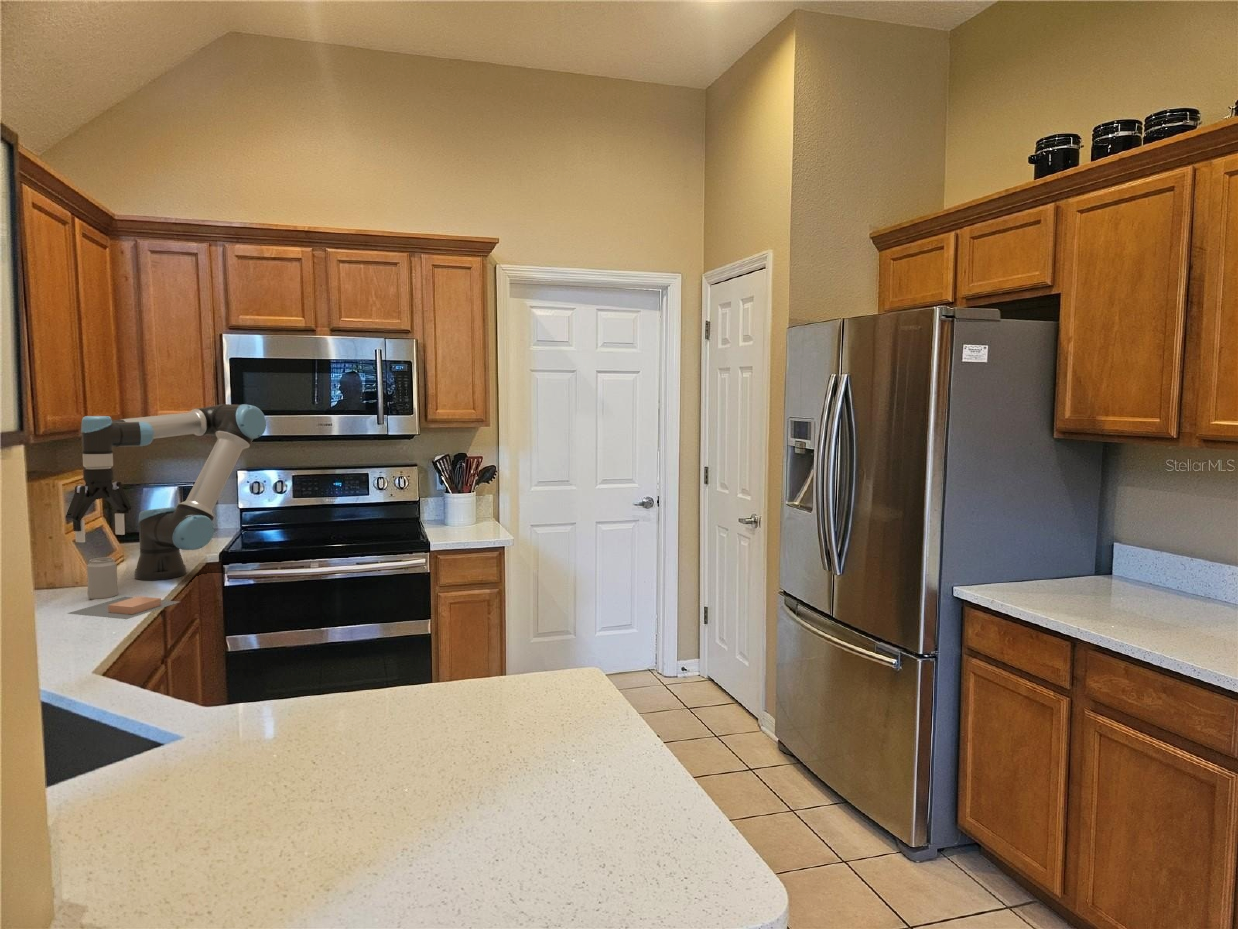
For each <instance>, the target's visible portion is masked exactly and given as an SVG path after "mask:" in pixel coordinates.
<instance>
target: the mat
mask: <svg viewBox="0 0 1238 929" xmlns="http://www.w3.org/2000/svg"><path fill="white" fill-rule="evenodd" d="M131 598H134V597H133V596H132V597H131V596H130V597H129V596H124V597H119V598H117V599H112V600H108V601H106V602H102V603H99V604H98V603H97V604H96V605H92V606H89V607H83V608H81V609H76V610H73V611H70V612H67V613H66V614H68V615H78V616H89V617H90V616H91V617H98V618H99V617H100V618H108V619H109V618H110V619H121V620H128V619H131V618H132V619H133V618H135V617H138V616H141V615H144V614H147V613H151V612H154V611H157V610H159V609H160V610H161V609H164V608H167V607H168V606H170V607H171V606H172V605H175V604H178V603H180V601H178V600H177V601H175V600H163V599H161V605H160V606H158V607H155V608H152V609H148V610H145V611H142V612H139V613H136V614H132V615H131V614H121V613H110V612H108V605H110V604H113V603H117V602H120V601H124V600H127V599H131Z"/></svg>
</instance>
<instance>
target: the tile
mask: <svg viewBox="0 0 1238 929" xmlns="http://www.w3.org/2000/svg"><path fill="white" fill-rule="evenodd" d="M161 600H162V597H148V596H139V595H138V596H135V597H133V598H131V599H127V600H124V601H120V602H117V603H113V604H110V605H108V612H110V613H121V614H131V615H132V614H136V613H139V612H142V611H145V610H148V609H152V608H155V607H158V606H160V605H161Z"/></svg>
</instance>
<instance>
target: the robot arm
mask: <svg viewBox="0 0 1238 929" xmlns="http://www.w3.org/2000/svg"><path fill="white" fill-rule="evenodd" d="M265 417H266V415H265V414H264V412H263V411H262V410H261V409H260V408H259V407H257V406H255V405H251V404H247V403H244V404H243V403H242V404H232V403H231V404H228V403H221V404H216V405H212V406H206V407H201V408H193V409H191V410H190V411H188V412H179V413H171V414H170V413H169V414H160V415H150V416H143V417H142V416H141V417H130V418H121V419H113V420H112V417H111V416H108V415H85V416H84V417H82V419H81V426H80V432H81V449H82V450H81V451H82V466H83V467H84V468H83V471H82V476H83V477H82V479H83V481H84V482H85V485H75V487H74V495H73V496H72V499H71V501H70V504H69V507H68V509H67V512H66V514H65V519H67V520H70V521H72V529H73V532H74V533H75V534H74V535H75V536H74V539H75V543H86V524H85V523H86V522H85V519H83V518H84V516H85V515H86V513H87V512H88V510H89V509H90V507H91V505H92V504H93V502H95V501H97V500H102V499H104V500H106V501H107V502H108V504H110V505H111V507H112V508H113V509H114V510H115V511H116V513H114V525H115V526H114V529H115V530H114V531H115V533H114V534H115V535H117V536H118V535H121V536H123V535H125V534H126V532H125V526H126V525H125V524H126V522H127V520H126V519H127V518H126V516H127V515H126V514H128V513H129V511H131V510H132V506H131V504H130V501H129V500H128V498H127V495H126V494H125V491H124V490H123V483H122V482H121V481H114V477H115V476H114V469H113V466H114V454H113V453H114V448H120V447H124V448H126V447H130V448H131V447H142V446H143V447H144V446H149V445H150V444H151V443H152V442H153V440H155V439H161V438H171V437H177V436H178V437H180V436H188V435H195V436H197V437H201V436H214V437H216V438H217V440H216V441H215V443H214V446H213V447H212V450H211V451H210V453H209V456H208V458H207V459H206V461H205V463H204V465H203V466H202V469H201V471H200V472H199V475H198V477H197V478H196V480H195V482H194V484H193V486H192V488H191V489H190V492H189V494H188V495H187V498H186V500H185V501H182V502H179V503H178V504H177V506H174V507H172V506H171V507H170V506H169V507H163V508H154V509H146V510H142V511H140V512H139V514H138V522H137V523H138V533H139V557H138V560H137V564H136V568H135V570H134V579H136V580H140V581H159V580H160V581H161V580H168V579H175V578H179V577H183V576H184V575H186V574H187V565H186V564H185V563H184V560H183V556H182V554H181V551H182V550H183V551H196V550H200V549H203V548H204V547H205V546H207V545H208V544H209V543H210V542H211V540H212V538H213V537H214V534H215V527H214V526H215V525H214V522H213V520H215V515H214V512H213V510H214V508H215V506H216V504H217V502H218V500H219V497H220V496H221V494H222V492H223V490H224V488H225V485H226V484H227V482H228V479H229V478H230V477H231V476H230V475H231V474H232V472H233V470H234V468H235V466H236V464H237V462H238V460H239V458H240V456H241V454H242V452H243V450H246V449H249V448H250V446H251V445H252V442H253V440H254V439H258V438H260V437H262V436H263V434H265V431H266V429H267V419H266V418H265ZM180 550H181V551H180Z"/></svg>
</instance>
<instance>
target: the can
mask: <svg viewBox="0 0 1238 929" xmlns="http://www.w3.org/2000/svg"><path fill="white" fill-rule="evenodd" d="M88 562H89V563H88V564H87V565H86V580H87V597H88V598H89V599H90V600H92V601H94V600H100V599H109V598H113V597H116V596H117V595H118V594H119V590H118V567H117V566H118V564H117V562H116V561H115V558H114V557H110V556H109V557H107V556H106V557H96V558H91V559H89V560H88Z"/></svg>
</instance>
